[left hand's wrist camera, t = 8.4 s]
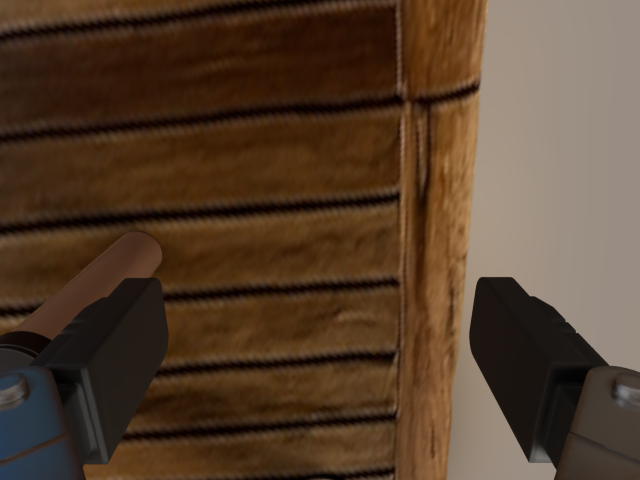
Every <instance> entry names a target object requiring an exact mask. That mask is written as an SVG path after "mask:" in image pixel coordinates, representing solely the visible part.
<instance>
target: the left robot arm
mask: <svg viewBox="0 0 640 480" xmlns="http://www.w3.org/2000/svg"><path fill="white" fill-rule="evenodd" d="M469 340H470V348H471V352H472V354H473V357H474V359H475V361H476V362H477V364H478V366H479V368H480V370H481V372H482V374H483V376H484V378H485V380H486V382H487V384H488V385H489V387H490V389H491V391H492V393H493V395H494V397H495V399H496V401H497V403H498V404H499V406H500V408H501V410H502V412H503V414H504V416H505V418H506V420H507V422H508V423H509V425H510V427H511V429H512V431H513V433H514V435H515V437H516V439H517V441H518V443H519V444H520V446H521V448H522V450H523V452H524V454H525V456H526V458H527V460H528V462H529V463H553V465H554V467H555V468H556V470H557V471H556V475H555V478H554V480H640V372H637V371H634V370H631V369H628V368H623V367H617V366H609V365H608V363H607V362H606V361H605V360H604V359H603V358H602V357H601V356H600V355H599V354H598V353H597V352H596V351H595V350H594V349H593V348H592V347H591V346H590V345H589V344H588V343H587V342H586V341H585V340H584V339H583V338H582V336H581V335H580V334H579V333H576V330H575V329H574V328H573V327H572V326H571V325H570V324H569V323H568V322H566V321H565V319H564V318H563V317H562V316H561V315H560V314H559V313H558V311H557V310H556V309H555V308H554V307H552V306H550V305H549V304H547V303H545V302H543V301H542V300H540V299H538V298H536V297H535V296H529V295H528V294H527V293H526V292H525V290H524V289H523V288H522V287H521V286H520V285H519V284H518V283H517V282H516V281H515V279H513V278H512V277H481V278H479V280H478V282H477V285H476V290H475V298H474V304H473V311H472V318H471V325H470V332H469ZM167 347H168V327H167V321H166V314H165V307H164V300H163V294H162V287H161V284H160V281H159V280H158V279H157V278H125V279H124V280H122V282H121V283H120V284H119V285H118V286H117V287H116V288H115V289H114V290H113V291H112V292H111V294H110V295H109V296H108V297H102V298H100V299H99V300H97V301H95V302H93V303H92V304H90V305H88V306H86V307H85V308H83V309H82V310H81V311H80V312H79V313H78V314H77V315H76V316H75V318H74V319H73V320H72V321H71V323H69V324H68V325H67V326H66V327H65V328H64V329H63V330H62V331H61V334H58V335H57V336H56V337H55V338H54V339H53V340H52V341H51V342H50V343H49V344H48V345H47V346H46V347H45V348H44V349H43V350H42V352H41V353H40V354H39V355H38V356H37V357H36V358H35V359H34V360H33V361H32V362H31V363H30V364H29V365H28V366H23V367H17V368H12V369H9V370H6V371H3V372H0V480H86V478H85V475H84V471H83V468H82V467H83V465H84V464H108V462H109V461H110V459H111V457H112V455H113V453H114V451H115V449H116V447H117V445H118V444H119V442H120V440H121V438H122V436H123V434H124V432H125V430H126V429H127V427H128V425H129V423H130V421H131V419H132V417H133V415H134V414H135V412H136V410H137V408H138V406H139V404H140V402H141V400H142V398H143V397H144V395H145V393H146V391H147V389H148V387H149V385H150V383H151V382H152V380H153V378H154V376H155V374H156V372H157V370H158V368H159V366H160V365H161V363H162V361H163V359H164V357H165V355H166V351H167ZM303 480H339V479H336V478H333V477H326V476H316V477H310V478H306V479H303Z"/></svg>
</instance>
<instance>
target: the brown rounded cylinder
mask: <svg viewBox="0 0 640 480" xmlns="http://www.w3.org/2000/svg"><path fill="white" fill-rule="evenodd" d="M161 261H162V251H161V248H160V246H159V244H158V243H157V241H156V240H155V239H154V238H152V237H151V236H150V235H148V234H146V233H143V232H136V231H135V232H128V233H126V234H124V235H122V236H121V237H120V238H119V239H118V240H117V241H115V242H114V243H113V244H112V245H111V246H110V247H108V248H107V249H106V250H105V251H104V252H103V253H101V254H100V255H99V256H98V257H97V258H96V259H95V260H93V261H92V262H91V263H90V264H89V265H88V266H86V267H85V268H84V269H83V270H82V271H81V272H80V273H78V274H77V275H76V276H75V277H74V278H73V279H71V280H70V281H69V282H68V283H67V284H66V285H65V286H63V287H62V288H61V289H60V290H59V291H58V292H56V293H55V294H54V295H53V296H52V297H51V298H49V299H48V300H47V301H46V302H45V303H44V304H43V305H41V306H40V307H39V308H38V309H37V310H36V311H34V312H33V313H32V314H31V315H30V316H29V317H28V318H26V319H25V320H24V321H23V322H22V323H21V324H19V325H18V326H17V327H16V328H15V329H14V330H13V331H11V332H14V331H29V332H34V333H37V334H40V335H43V336H45V337H47V338H49V339H51V340H53V339H54V338H55V337H56V336H57V335H58V334H61V331H62V330H63V329H64V328H65V327H66V326H67V325H68V324H69V323H71V321H72V320H73V319H74V318H75V316H76V315H77V314H78V313H79V312H80V311H81V310H82V309H83V308H85V307H86V306H88V305H90V304H92V303H93V302H95V301H97V300H99V299H100V298H102V297H108V296H109V295H110V294H111V292H112V291H113V290H114V289H115V288H116V287H117V286H118V285H119V284H120V283H121V282H122V280H124V279H125V278H150V277H151V276H152V274H153V273H154V272H155V271H156V269H157V268H158V267H159V265H160V264H161Z"/></svg>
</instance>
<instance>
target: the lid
mask: <svg viewBox="0 0 640 480" xmlns="http://www.w3.org/2000/svg"><path fill="white" fill-rule="evenodd" d="M51 341H52V340H51V339H49V338H47V337H45V336H43V335H40V334H37V333H34V332H29V331H14V332H9V333H6V334H3V335H1V336H0V372H3V371H6V370H9V369H12V368H17V367H23V366H28V365H29V364H30V363H31V362H32V361H33V360H34V359H35V358H36V357H37V356H38V355H39V354H40V353H41V352H42V350H43V349H44V348H45V347H46V346H47V345H48V344H49V343H50V342H51Z"/></svg>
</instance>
